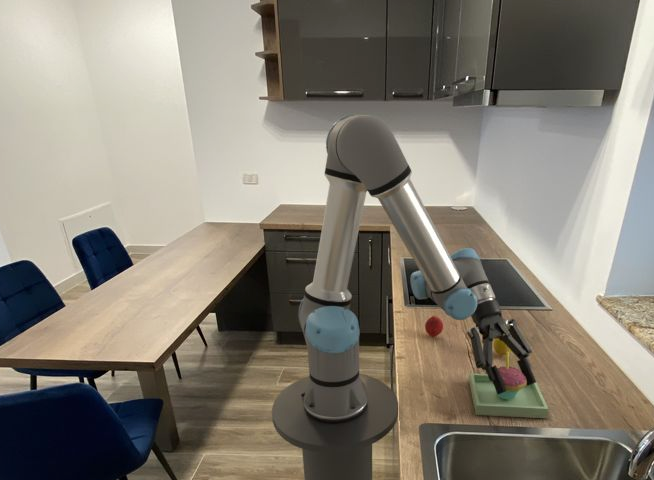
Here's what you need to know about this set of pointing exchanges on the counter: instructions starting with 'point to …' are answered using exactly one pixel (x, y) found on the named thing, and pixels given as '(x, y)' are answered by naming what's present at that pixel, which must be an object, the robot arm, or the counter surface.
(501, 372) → the cupcake
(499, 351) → the lemon
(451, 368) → the counter surface
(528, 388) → the tray
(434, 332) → the red textured round piece
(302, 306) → the robot arm
